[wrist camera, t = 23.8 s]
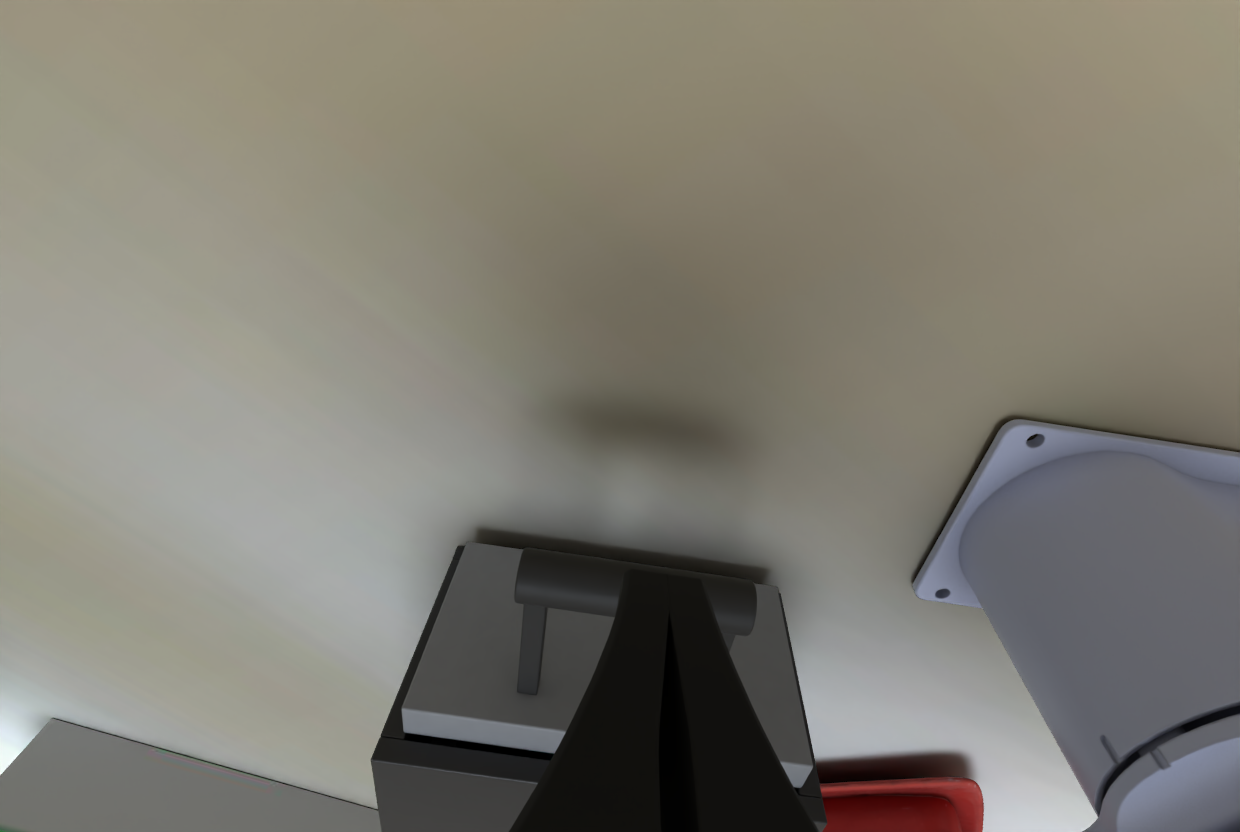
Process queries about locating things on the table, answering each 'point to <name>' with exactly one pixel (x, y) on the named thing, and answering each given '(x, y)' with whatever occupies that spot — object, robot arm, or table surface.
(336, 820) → the tray
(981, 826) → the butter dish
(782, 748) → the drawer
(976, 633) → the table surface
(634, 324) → the table surface
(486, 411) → the table surface
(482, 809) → the dark grey storage box
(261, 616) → the table surface
